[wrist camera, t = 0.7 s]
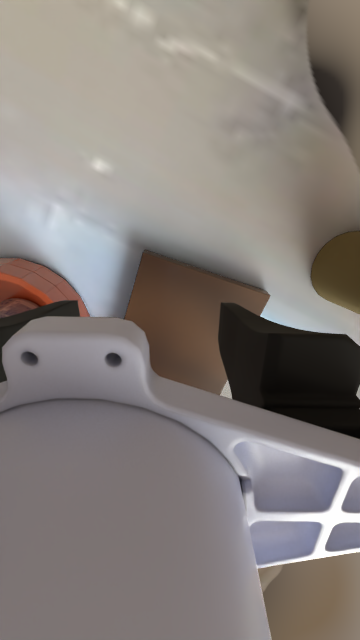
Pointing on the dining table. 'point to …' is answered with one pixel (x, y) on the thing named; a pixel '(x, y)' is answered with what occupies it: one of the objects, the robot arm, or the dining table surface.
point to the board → (186, 318)
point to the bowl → (35, 284)
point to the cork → (339, 271)
